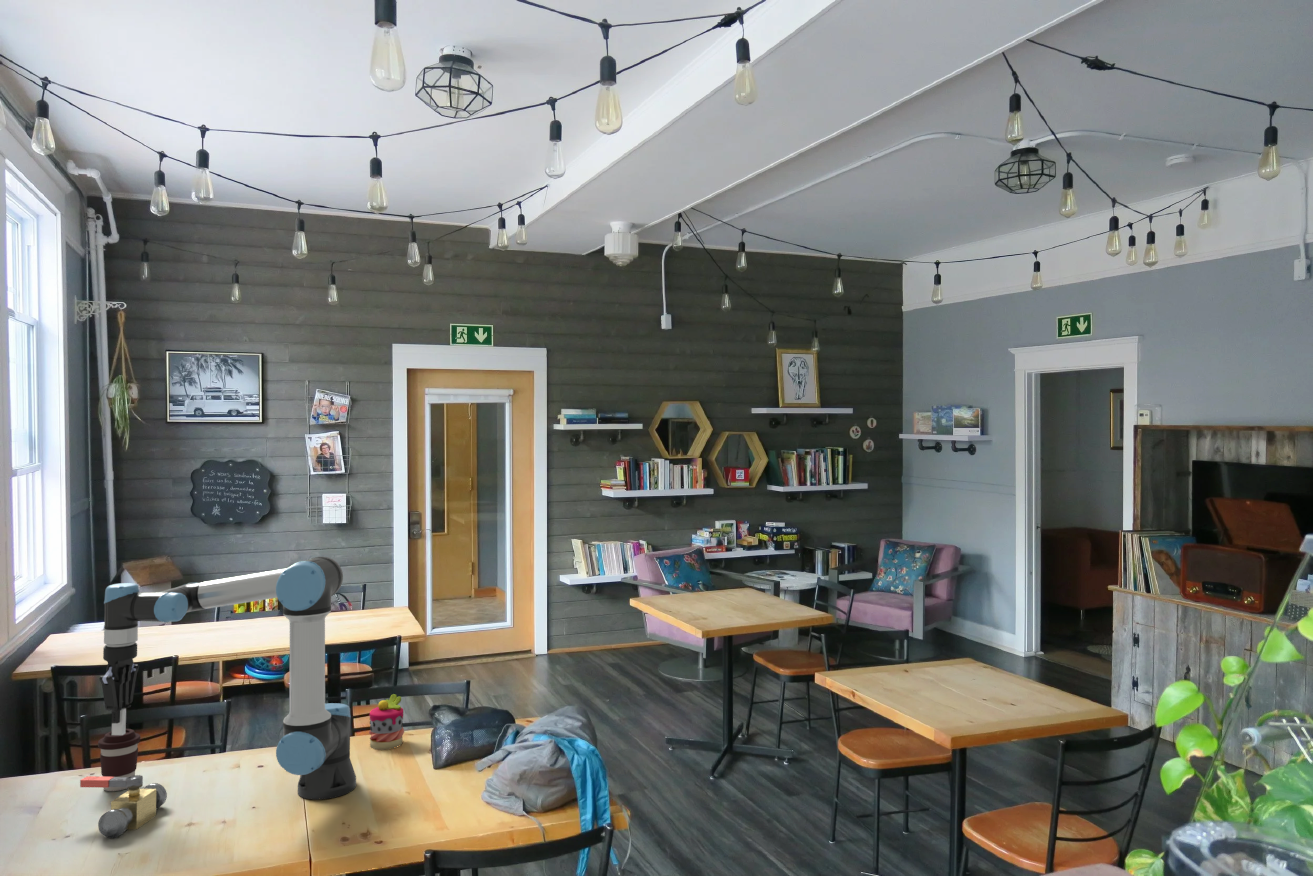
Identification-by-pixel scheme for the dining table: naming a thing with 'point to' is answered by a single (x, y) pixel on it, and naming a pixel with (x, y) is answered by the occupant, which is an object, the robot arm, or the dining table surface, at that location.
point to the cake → (386, 724)
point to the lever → (112, 782)
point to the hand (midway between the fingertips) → (118, 734)
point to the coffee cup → (119, 755)
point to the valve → (132, 810)
